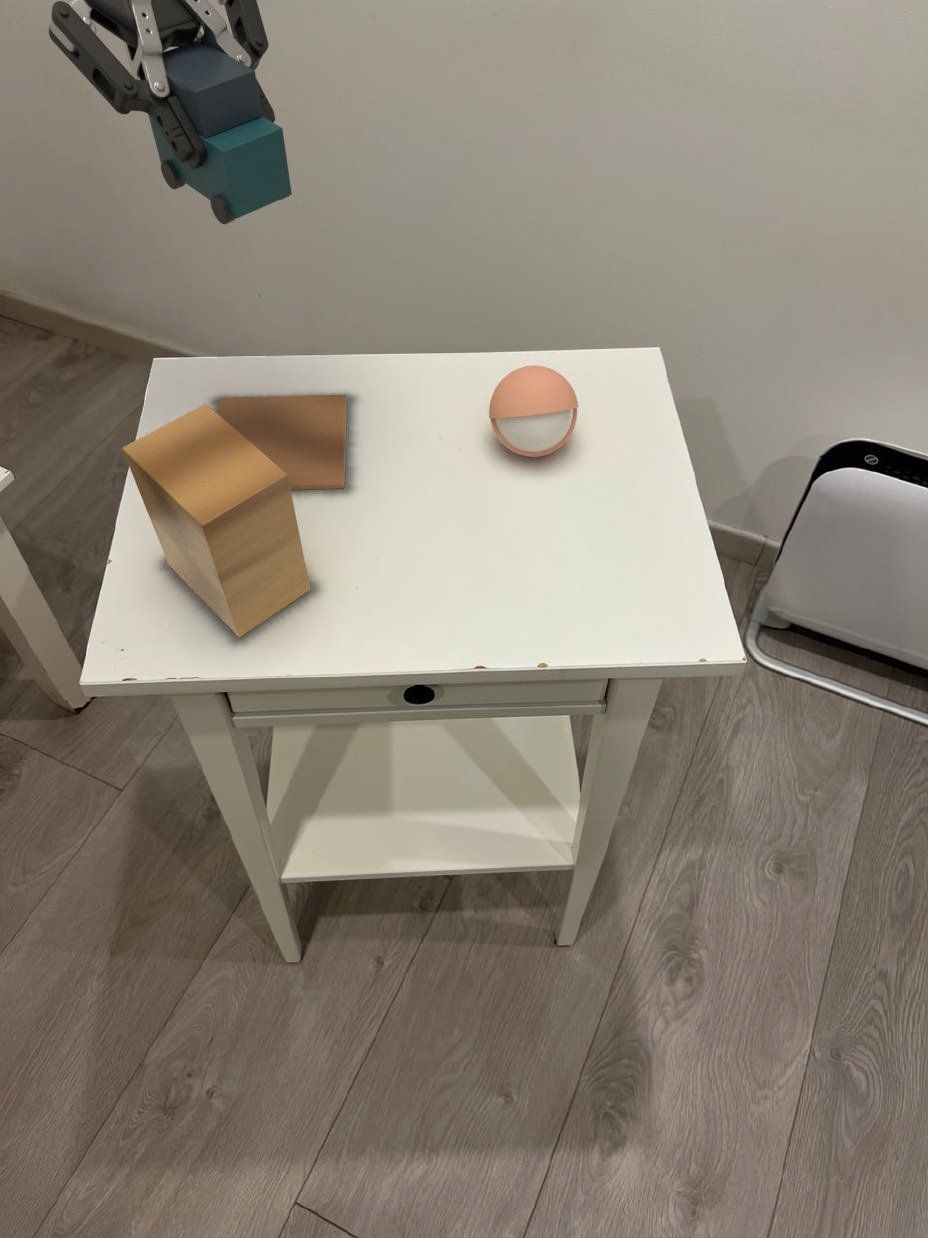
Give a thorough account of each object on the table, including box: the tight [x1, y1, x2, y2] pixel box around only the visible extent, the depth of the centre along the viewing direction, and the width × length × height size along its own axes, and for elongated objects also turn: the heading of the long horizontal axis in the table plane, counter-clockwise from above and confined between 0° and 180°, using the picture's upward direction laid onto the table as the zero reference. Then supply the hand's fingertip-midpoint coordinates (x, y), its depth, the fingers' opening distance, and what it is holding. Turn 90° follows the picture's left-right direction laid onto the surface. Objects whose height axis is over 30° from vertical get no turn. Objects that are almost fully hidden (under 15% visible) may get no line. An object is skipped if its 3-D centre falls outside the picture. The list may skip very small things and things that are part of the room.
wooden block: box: [122, 403, 311, 638], centre depth 66 cm, size 10×7×13 cm
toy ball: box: [488, 365, 579, 458], centre depth 78 cm, size 8×8×8 cm
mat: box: [217, 394, 348, 491], centre depth 80 cm, size 12×12×1 cm
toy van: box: [147, 40, 293, 225], centre depth 58 cm, size 9×5×8 cm, turn 44°
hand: (234, 148), depth 57 cm, fingers closed on toy van, 4 cm apart
